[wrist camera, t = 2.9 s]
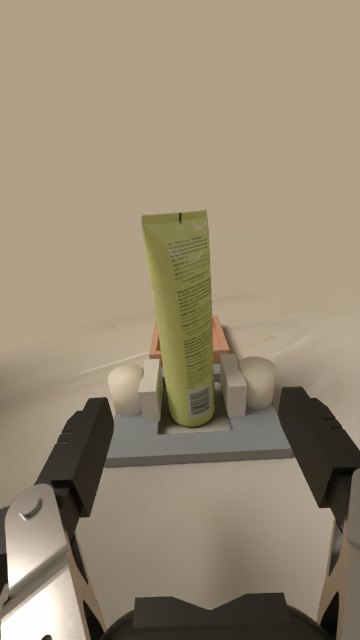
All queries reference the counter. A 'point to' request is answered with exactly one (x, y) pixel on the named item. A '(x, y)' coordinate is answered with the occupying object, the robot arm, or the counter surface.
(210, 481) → the counter surface
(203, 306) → the tube
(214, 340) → the tray
